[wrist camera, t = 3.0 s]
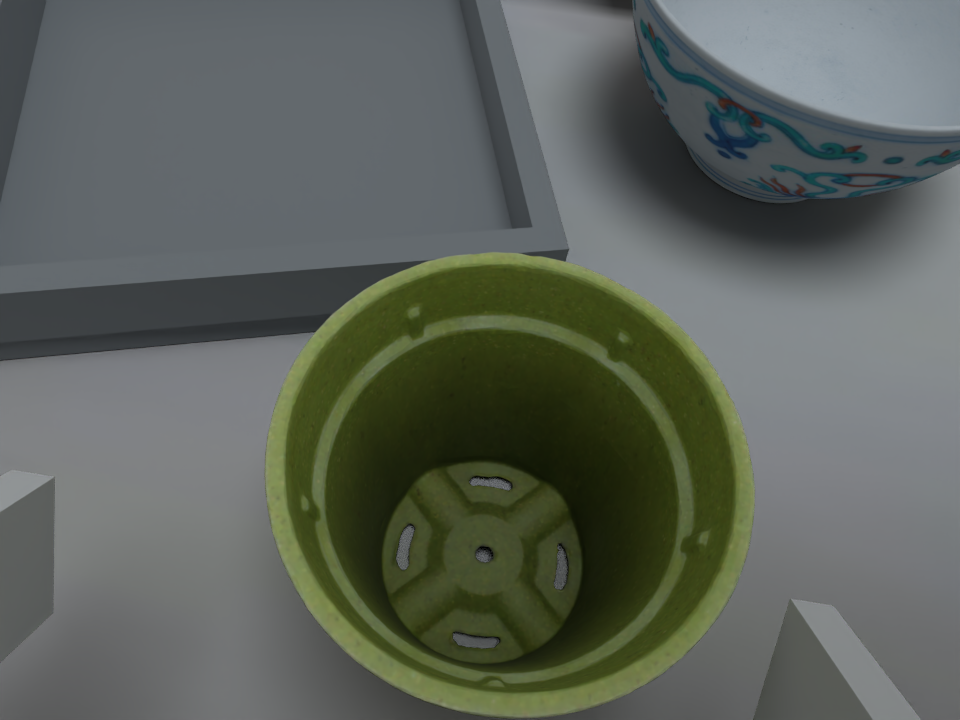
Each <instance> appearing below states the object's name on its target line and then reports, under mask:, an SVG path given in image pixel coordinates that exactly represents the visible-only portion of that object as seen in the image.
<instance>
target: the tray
mask: <svg viewBox="0 0 960 720" xmlns="http://www.w3.org/2000/svg"><path fill="white" fill-rule="evenodd" d="M568 251H569V247H568V244H567V240H566V237H565V233H564V229H563V226H562V222H561V219H560V215H559V211H558V208H557V204H556V201H555V197H554V193H553V190H552V186H551V182H550V179H549V175H548V172H547V168H546V164H545V161H544V157H543V154H542V150H541V146H540V143H539V139H538V136H537V132H536V128H535V125H534V121H533V118H532V114H531V110H530V107H529V103H528V100H527V96H526V92H525V89H524V85H523V81H522V78H521V74H520V71H519V67H518V63H517V60H516V56H515V53H514V49H513V45H512V42H511V38H510V35H509V31H508V27H507V24H506V20H505V17H504V13H503V9H502V6H501V2H500V0H0V360H7V359H18V358H29V357H40V356H51V355H62V354H73V353H84V352H95V351H106V350H117V349H128V348H139V347H150V346H161V345H172V344H183V343H194V342H204V341H215V340H226V339H237V338H248V337H259V336H270V335H281V334H292V333H303V332H314V331H317V330H318V329H319V328H320V327H321V326H322V325H323V324H324V322H325V321H326V320H327V319H328V318H329V317H330V316H331V315H332V314H333V313H335V312H336V311H337V310H338V309H340V308H341V307H342V306H343V305H344V304H346V303H347V302H348V301H350V300H351V299H352V298H354V297H355V296H356V295H358V294H359V293H361V292H362V291H363V290H365V289H367V288H368V287H370V286H372V285H373V284H375V283H377V282H378V281H380V280H382V279H384V278H387V277H389V276H392V275H394V274H396V273H398V272H401V271H403V270H406V269H409V268H411V267H414V266H416V265H419V264H421V263H424V262H427V261H431V260H436V259H440V258H444V257H449V256H456V255H467V254H473V255H474V254H481V253H490V252H499V253H520V254H524V255H529V256H541V257H546V258H551V259H556V260H560V261H566V257H567V254H568Z"/></svg>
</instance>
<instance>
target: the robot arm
mask: <svg viewBox="0 0 960 720" xmlns="http://www.w3.org/2000/svg"><path fill="white" fill-rule="evenodd" d="M54 503H55V477H53V476H47V475H41V474H35V473H29V472H23V471H17V470H10V471H9V472H7V473H5V474H3V475H2V476H0V663H1V662H2V661H3V660H4V659H5V658H6V657H7V656H8V655H9V654H10V653H11V652H12V651H13V650H14V649H15V648H17V647H18V646H19V645H20V644H21V643H22V642H23V641H24V640H25V639H26V638H27V637H28V636H29V635H30V634H31V633H32V632H33V631H35V630H36V629H37V628H38V627H39V626H40V625H41V624H42V623H43V622H44V621H45V620H46V619H47V618H48V617H49V616H50V615H51V614H53V593H54ZM753 720H921V719H920V718H919V716H918V715H917V714H916V712H915V711H914V710H913V708H912V707H911V706H910V705H909V703H908V702H907V701H906V699H905V698H904V697H903V695H902V694H901V693H900V692H899V690H898V689H897V688H896V686H895V685H894V684H893V683H892V681H891V680H890V679H889V677H888V676H887V675H886V673H885V672H884V671H883V670H882V668H881V667H880V666H879V664H878V663H877V662H876V660H875V659H874V658H873V657H872V655H871V654H870V653H869V651H868V650H867V649H866V647H865V646H864V645H863V644H862V642H861V641H860V640H859V638H858V637H857V636H856V634H855V633H854V632H853V631H852V629H851V628H850V627H849V625H848V624H847V623H846V622H845V620H844V619H843V618H842V616H841V615H840V614H839V612H838V611H837V610H836V609H835V607H834V606H833V605H827V604H821V603H815V602H809V601H803V600H797V599H791V598H790V601H789V605H788V608H787V611H786V614H785V618H784V621H783V624H782V627H781V631H780V634H779V637H778V640H777V644H776V647H775V650H774V653H773V657H772V660H771V663H770V666H769V670H768V673H767V676H766V679H765V683H764V686H763V689H762V693H761V696H760V699H759V702H758V706H757V709H756V712H755V715H754V719H753Z"/></svg>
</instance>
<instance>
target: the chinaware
mask: <svg viewBox="0 0 960 720" xmlns="http://www.w3.org/2000/svg"><path fill="white" fill-rule="evenodd" d="M633 18H634V28H635V36H636V42H637V48H638V53H639V57H640V61H641V65H642V68H643V71H644V74H645V77H646V80H647V83H648V85H649V88H650V90H651V92H652V94H653V96H654V99H655V101H656V102H657V104H658V106H659V108H660V110H661V111H662V113H663V115H664V116H665V118H666V119H667V121H668V122H669V124H670V125H671V126H672V128H673V129H674V130H675V131H676V133H677V134H678V135H679V136H680V137H681V139H682V140H683V141H684V142H685V143H686V146H687V149H688V151H689V153H690V155H691V157H692V159H693V160H694V162H695V163H696V164H697V165H698V167H699V168H700V169H701V170H702V171H703V172H704V173H705V174H706V175H707V176H708V177H710V178H711V179H712V180H713V181H715V182H716V183H718V184H719V185H721V186H722V187H724V188H726V189H728V190H730V191H732V192H734V193H736V194H738V195H741V196H743V197H746V198H750V199H753V200H757V201H762V202H769V203H792V202H798V201H803V200H806V199H809V198H811V199H840V198H852V197H860V196H867V195H873V194H878V193H882V192H887V191H891V190H894V189H898V188H902V187H905V186H908V185H911V184H914V183H917V182H919V181H922V180H925V179H927V178H930V177H932V176H934V175H937V174H939V173H941V172H943V171H946V170H948V169H950V168H952V167H954V166H956V165H958V164H960V0H633Z"/></svg>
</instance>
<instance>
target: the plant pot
mask: <svg viewBox="0 0 960 720" xmlns="http://www.w3.org/2000/svg"><path fill="white" fill-rule="evenodd" d="M474 476H482V477H501V478H504V479H506V480H508V481H510V482H511V483H512V486H513V488H512V489H510V490H509V491H508V490H503V489H499V488H495V487H488V486H480V485H477V486H472V485H471V484H470V483H469V481H470V480H471V478H472V477H474ZM265 490H266V498H267V507H268V512H269V519H270V524H271V528H272V532H273V536H274V539H275V542H276V545H277V548H278V551H279V554H280V557H281V559H282V562H283V564H284V566H285V569H286V571H287V573H288V575H289V577H290V579H291V581H292V583H293V585H294V587H295V589H296V591H297V592H298V594H299V596H300V597H301V599H302V601H303V602H304V604H305V606H306V607H307V609H308V610H309V612H310V613H311V614H312V616H313V617H314V618H315V619H316V621H317V622H318V623H319V625H320V626H321V627H322V628H323V629H324V630H325V632H326V633H327V634H328V635H329V636H330V637H331V638H332V639H333V640H334V641H335V642H336V643H337V644H338V645H339V646H340V647H341V648H342V649H343V650H344V651H345V652H346V653H347V654H348V655H349V656H350V657H352V658H353V659H354V660H355V661H356V662H357V663H359V664H360V665H361V666H363V667H364V668H365V669H367V670H368V671H370V672H371V673H372V674H374V675H375V676H377V677H379V678H380V679H382V680H383V681H385V682H387V683H388V684H390V685H392V686H393V687H395V688H397V689H399V690H401V691H403V692H405V693H407V694H409V695H411V696H413V697H416V698H418V699H420V700H423V701H425V702H428V703H431V704H434V705H437V706H440V707H443V708H447V709H451V710H454V711H458V712H462V713H467V714H472V715H477V716H485V717H495V718H541V717H551V716H557V715H564V714H569V713H573V712H578V711H582V710H586V709H589V708H593V707H596V706H600V705H602V704H605V703H607V702H610V701H613V700H615V699H617V698H620V697H622V696H625V695H627V694H629V693H631V692H632V691H634V690H636V689H638V688H640V687H642V686H644V685H645V684H647V683H649V682H651V681H652V680H654V679H655V678H657V677H658V676H660V675H661V674H663V673H664V672H665V671H667V670H668V669H669V668H670V667H671V666H673V665H674V664H675V663H676V662H678V661H679V660H680V659H681V658H682V657H683V656H684V655H685V654H686V653H688V652H689V651H690V650H691V649H692V648H693V647H694V646H695V645H696V644H697V642H698V641H699V640H700V639H701V638H702V637H703V636H704V635H705V634H706V632H707V631H708V630H709V629H710V628H711V626H712V625H713V624H714V622H715V621H716V620H717V619H718V617H719V615H720V614H721V612H722V611H723V609H724V608H725V606H726V604H727V603H728V601H729V599H730V598H731V596H732V594H733V591H734V589H735V587H736V585H737V582H738V580H739V577H740V575H741V572H742V569H743V566H744V563H745V560H746V556H747V553H748V549H749V544H750V539H751V533H752V525H753V518H754V507H755V503H754V497H755V487H754V476H753V469H752V464H751V460H750V454H749V447H748V443H747V440H746V435H745V433H744V429H743V426H742V423H741V420H740V417H739V414H738V412H737V410H736V408H735V405H734V402H733V401H732V399H731V398H730V396H729V394H728V392H727V390H726V388H725V386H724V384H723V383H722V381H721V379H720V378H719V376H718V374H717V372H716V370H715V369H714V367H713V366H712V364H711V363H710V361H709V360H708V358H707V357H706V356H705V354H704V353H703V352H702V351H701V350H700V348H699V347H698V346H697V345H696V344H695V342H694V341H693V340H692V339H691V338H690V337H689V336H688V335H687V334H686V332H685V331H684V330H683V329H682V328H681V327H680V326H679V325H677V324H676V323H675V322H674V321H673V320H672V319H671V318H670V317H669V316H668V315H667V314H665V313H664V312H663V311H662V310H661V309H659V308H658V307H656V306H655V305H653V304H652V303H650V302H649V301H648V300H646V299H645V298H643V297H641V296H640V295H638V294H636V293H635V292H633V291H632V290H629V289H627V288H625V287H623V286H622V285H620V284H618V283H616V282H614V281H612V280H611V279H609V278H607V277H605V276H603V275H601V274H598V273H596V272H593V271H591V270H589V269H586V268H584V267H581V266H579V265H575V264H572V263H568V262H565V261H560V260H556V259H551V258H546V257H541V256H529V255H524V254H520V253H499V252H490V253H481V254H474V255H473V254H467V255H456V256H449V257H444V258H440V259H436V260H431V261H427V262H424V263H421V264H419V265H416V266H414V267H411V268H409V269H406V270H403V271H401V272H398V273H396V274H394V275H392V276H389V277H387V278H384V279H382V280H380V281H378V282H377V283H375V284H373V285H372V286H370V287H368V288H367V289H365V290H363V291H362V292H361V293H359V294H358V295H356V296H355V297H354V298H352V299H351V300H350V301H348V302H347V303H346V304H344V305H343V306H342V307H341V308H340V309H338V310H337V311H336V312H335V313H333V314H332V315H331V316H330V317H329V318H328V319H327V320H326V321H325V322H324V324H323V325H322V326H321V327H320V328H319V329H318V330H317V331H316V332H315V334H314V335H313V336H312V337H311V338H310V340H309V341H308V342H307V344H306V345H305V346H304V348H303V349H302V351H301V352H300V353H299V355H298V357H297V358H296V360H295V362H294V364H293V365H292V367H291V369H290V371H289V373H288V375H287V377H286V379H285V381H284V383H283V385H282V388H281V390H280V393H279V396H278V399H277V402H276V404H275V407H274V411H273V415H272V419H271V424H270V428H269V433H268V437H267V446H266V453H265ZM409 524H412V525H414V527H415V531H414V534H413V538H412V541H411V545H410V548H409V566H408V568H407V569H406V570H401V569H400V567H399V566H398V563H397V561H396V552H397V550H398V545H399V539H400V536H401V533H402V531H403V530H404V528H405V527H406V526H407V525H409ZM559 543H561V544H562V546H563V547H564V549H565V551H566V554H567V559H568V567H569V572H568V578H567V583H566V585H565V586H564V588H563V589H562V590H559V589H555V587H554V580H555V575H556V569H557V553H558V551H559V550H558V548H557V545H558V544H559ZM480 546H484V547H489V548H490V549H491V550H492V552H493V559H492V560H491V561H489V562H486V563H484V562H481V561H479V560H478V559H476V550H477V549H478V548H479V547H480ZM456 631H457V632H460V633H464V634H470V635H475V636H485V637H489V636H491V637H494V636H495V637H499V639H500V642H499V643H498V644H497V645H496V647H495V648H486V649H481V648H472V647H465V646H462V645H458V644H457V642H456V641H454V640H453V632H456Z"/></svg>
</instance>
